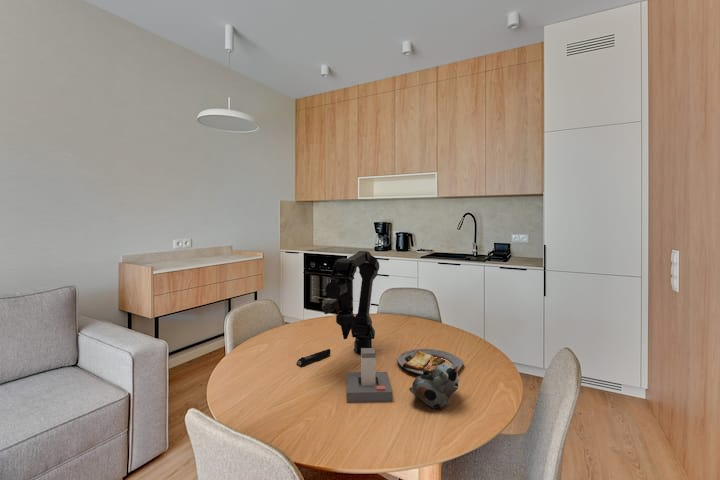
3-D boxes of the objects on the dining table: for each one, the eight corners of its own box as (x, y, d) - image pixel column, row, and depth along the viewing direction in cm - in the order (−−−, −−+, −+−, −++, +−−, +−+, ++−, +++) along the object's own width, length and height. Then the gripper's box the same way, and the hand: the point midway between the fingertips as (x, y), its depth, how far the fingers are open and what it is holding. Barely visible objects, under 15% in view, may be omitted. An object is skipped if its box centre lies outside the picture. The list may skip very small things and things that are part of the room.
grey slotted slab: (346, 380, 118) (346, 370, 118) (387, 380, 119) (387, 369, 118) (346, 402, 104) (346, 390, 104) (392, 401, 105) (392, 390, 104)
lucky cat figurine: (417, 385, 115) (437, 349, 115) (449, 409, 109) (470, 371, 108) (402, 391, 102) (424, 351, 102) (437, 419, 96) (461, 376, 96)
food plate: (449, 386, 114) (449, 376, 113) (387, 371, 126) (387, 361, 126) (469, 362, 135) (469, 353, 135) (414, 351, 147) (414, 342, 147)
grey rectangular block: (361, 385, 113) (361, 348, 113) (374, 384, 113) (374, 348, 113) (361, 391, 109) (361, 353, 108) (375, 391, 109) (375, 353, 108)
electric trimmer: (332, 357, 139) (332, 349, 139) (301, 368, 128) (301, 360, 128) (326, 354, 142) (327, 347, 142) (295, 365, 131) (295, 357, 131)
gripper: (324, 288, 135) (325, 327, 135) (321, 299, 116) (321, 344, 117) (352, 288, 135) (353, 326, 136) (354, 298, 116) (354, 343, 117)
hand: (345, 334), depth 127 cm, fingers open, 9 cm apart
